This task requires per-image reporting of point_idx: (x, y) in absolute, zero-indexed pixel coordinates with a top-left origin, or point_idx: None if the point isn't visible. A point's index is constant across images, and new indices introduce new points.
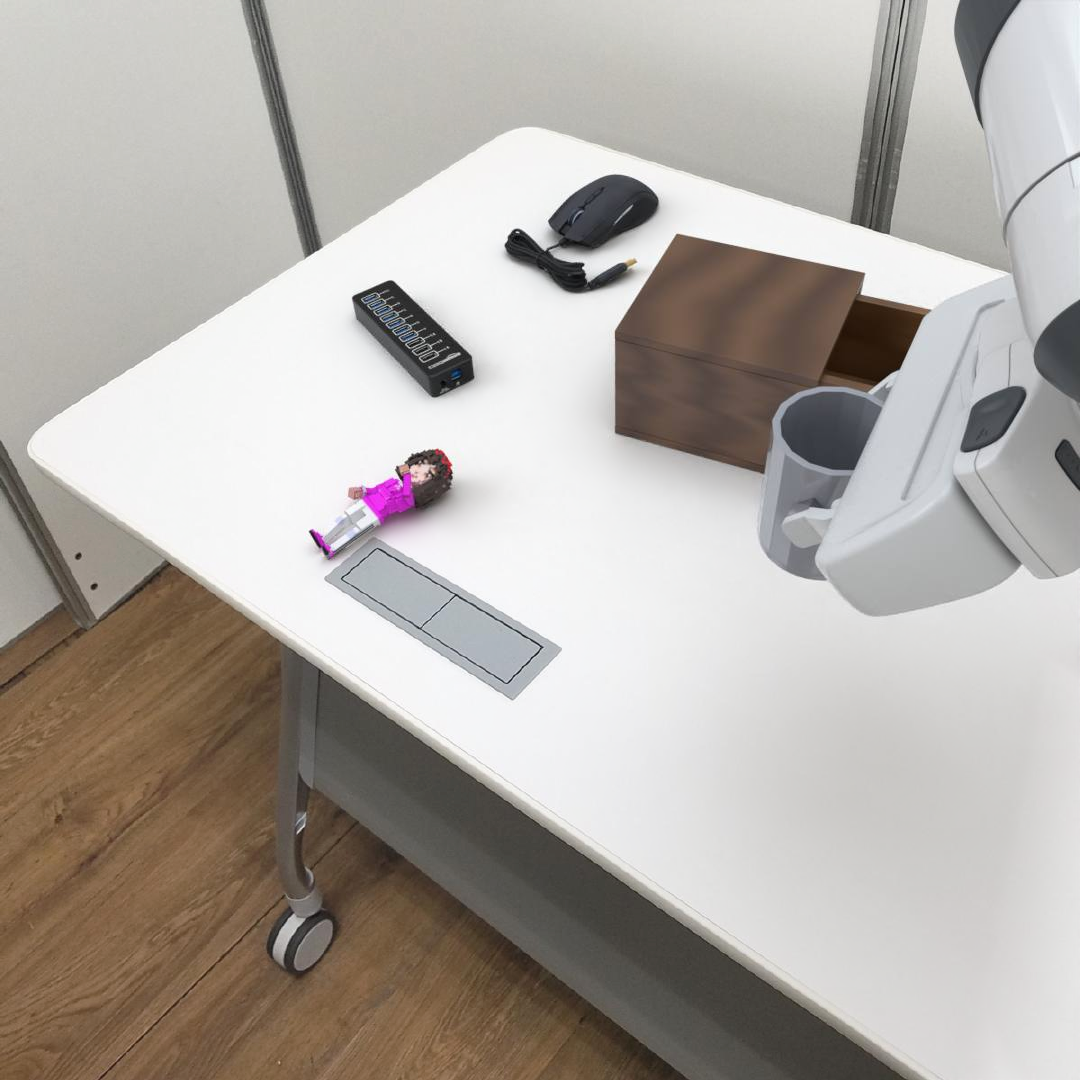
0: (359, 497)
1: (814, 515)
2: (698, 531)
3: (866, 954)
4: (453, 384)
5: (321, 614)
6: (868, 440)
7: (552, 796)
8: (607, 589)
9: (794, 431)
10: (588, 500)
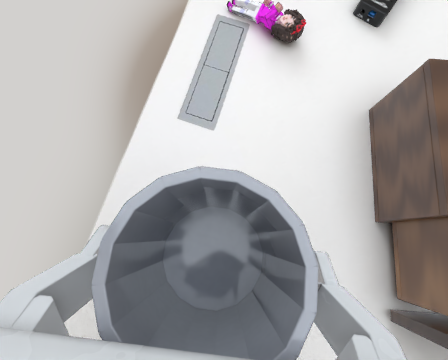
0: (265, 4)
1: (56, 268)
2: (315, 174)
3: (88, 317)
4: (365, 18)
5: (197, 21)
6: (133, 353)
7: (132, 152)
8: (257, 140)
9: (253, 206)
10: (313, 112)
